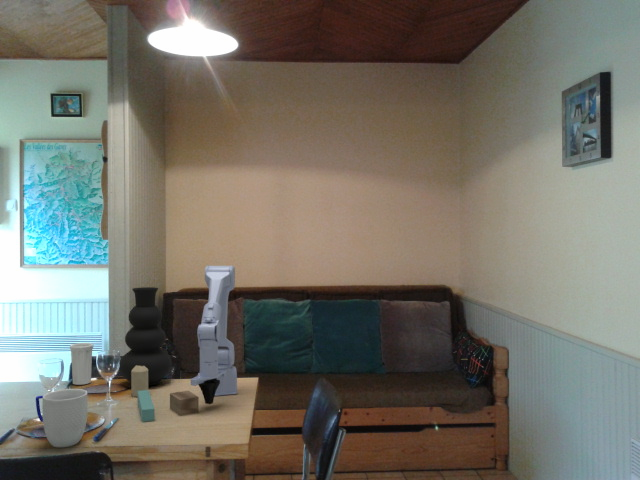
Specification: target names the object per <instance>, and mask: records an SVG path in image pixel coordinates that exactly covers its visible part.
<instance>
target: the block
mask: <svg viewBox="0 0 640 480" xmlns="http://www.w3.org/2000/svg"><path fill="white" fill-rule="evenodd" d="M199 406H200V405H199V396H198V395H196V394H195V393H193V392H191V391H189V390H182V391H177V392H170V393H169V409H170V410H171V411H172V412H174V414H175V413H176V414H177V415H178V416H179V417H181V416H186V415H187V416H188V415H192V414H199Z"/></svg>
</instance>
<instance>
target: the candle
mask: <svg viewBox="0 0 640 480" xmlns="http://www.w3.org/2000/svg"><path fill="white" fill-rule="evenodd" d="M130 385H131V386H130V387H131V391H130V393H131V396H132V397H134V398H135V397H136V398H138V391H143V390H149V386H148V369H147V368H146V367H145V366H137V365H136V366H135V367H134V368H133V369H132V370H131V384H130Z"/></svg>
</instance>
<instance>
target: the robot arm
mask: <svg viewBox="0 0 640 480" xmlns="http://www.w3.org/2000/svg"><path fill="white" fill-rule="evenodd" d="M204 281H205V284H206V286H207V288H208V301H207V303H205V305H204V306H203V311H202V317H201V323H200V324H198V327H197V340H198V341H197V342H198V347H199V372H198V373H197V375H196V376H195V377H193V378H190V386H193V387H196V386H198V387H199V389H200V391H201V392H202V396H203V399H204V404H206V405H212V404H214V399H215V397H217V396H218V397H219V396H229V395H236V394H238V372H237V371H238V370H237V368H236V366H234V363H235V345H234V343H233V342H232V341H231V340H229V339H228V338H227V331H228V309H229V308H228V307H229V306H228V305H229V295H230V292H231V291H234V289H235V286H236V285H235V284H236V268H235V267H234V265H231V264H230V265H206V266H205V268H204Z"/></svg>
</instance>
